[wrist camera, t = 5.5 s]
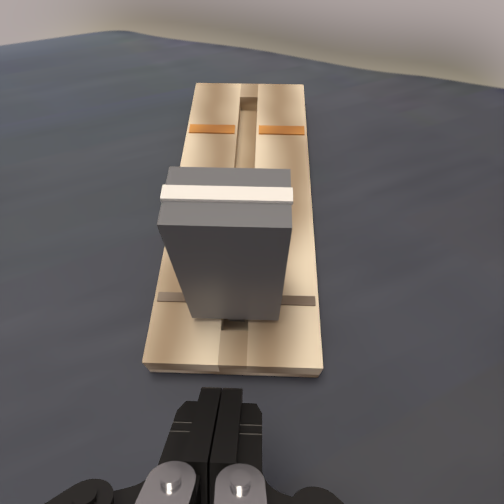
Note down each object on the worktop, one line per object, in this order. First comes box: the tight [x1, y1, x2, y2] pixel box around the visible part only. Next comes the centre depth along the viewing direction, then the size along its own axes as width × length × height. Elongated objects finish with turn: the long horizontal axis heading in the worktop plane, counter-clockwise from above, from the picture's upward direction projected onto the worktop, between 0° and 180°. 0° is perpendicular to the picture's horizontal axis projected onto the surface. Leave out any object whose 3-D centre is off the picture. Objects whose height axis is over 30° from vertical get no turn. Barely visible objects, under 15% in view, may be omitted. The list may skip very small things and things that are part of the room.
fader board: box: [142, 83, 323, 377], centre depth 28 cm, size 10×26×2 cm, turn 178°
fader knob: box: [157, 167, 293, 322], centre depth 19 cm, size 5×3×11 cm, turn 88°
